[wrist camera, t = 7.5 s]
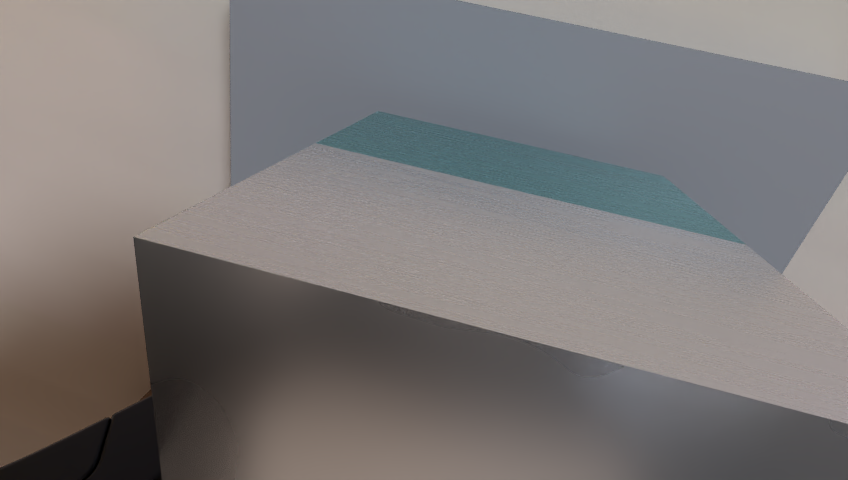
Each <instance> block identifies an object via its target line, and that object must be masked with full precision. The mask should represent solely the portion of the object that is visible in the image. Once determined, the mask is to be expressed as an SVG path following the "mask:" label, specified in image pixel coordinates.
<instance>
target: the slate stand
mask: <svg viewBox="0 0 848 480" xmlns="http://www.w3.org/2000/svg"><path fill="white" fill-rule="evenodd" d="M377 111H380V112H385V113H389V114H394V115H398V116H402V117H407V118H411V119H416V120H420V121H424V122H429V123H433V124H437V125H442V126H446V127H451V128H455V129H459V130H464V131H468V132H473V133H477V134H481V135H486V136H490V137H495V138H499V139H503V140H508V141H512V142H517V143H521V144H525V145H530V146H534V147H539V148H543V149H547V150H552V151H556V152H561V153H565V154H569V155H574V156H578V157H583V158H587V159H591V160H596V161H600V162H605V163H609V164H613V165H618V166H622V167H627V168H631V169H635V170H640V171H644V172H648V173H653V174H657V175H662V176H664V177H665V178H666V179H668V180H669V181H670V182H671V183H672V184H674V185H675V186H676V187H677V188H679V189H680V190H681V191H682V192H683V193H685V194H686V195H687V196H688V197H689V198H691V199H692V200H693V201H694V202H695V203H697V204H698V205H699V206H700V207H701V208H703V209H704V210H705V211H706V212H707V213H709V214H710V215H711V216H712V217H713V218H715V219H716V220H717V221H718V222H720V223H721V224H722V225H723V226H724V227H726V228H727V229H728V230H729V231H730V232H732V233H733V234H734V235H735V236H736V237H738V238H739V239H740V240H741V241H742V242H744V243H745V244H746V245H747V246H748V247H750V248H751V249H752V250H753V251H754V252H756V253H757V254H758V255H759V256H760V257H762V258H763V259H764V260H765V261H767V262H768V263H769V264H770V265H771V266H773V267H774V268H775V269H776V270H777V271H779V272H780V273H781V274H782V273H783V271H784V270H785V268H786V267H787V265H788V263H789V262H790V260H791V259H792V257H793V256H794V254H795V253H796V251H797V249H798V248H799V246H800V245H801V243H802V242H803V240H804V239H805V237H806V235H807V234H808V232H809V231H810V229H811V228H812V226H813V225H814V223H815V221H816V220H817V218H818V217H819V215H820V214H821V212H822V211H823V209H824V207H825V206H826V204H827V203H828V201H829V200H830V198H831V197H832V195H833V194H834V192H835V190H836V189H837V187H838V186H839V184H840V183H841V181H842V180H843V178H844V176H845V175H846V173H847V172H848V81H844V80H839V79H835V78H830V77H825V76H820V75H815V74H810V73H806V72H801V71H796V70H791V69H786V68H781V67H777V66H772V65H767V64H762V63H757V62H752V61H748V60H743V59H738V58H733V57H728V56H723V55H719V54H714V53H709V52H704V51H699V50H695V49H690V48H685V47H680V46H675V45H670V44H666V43H661V42H656V41H651V40H646V39H641V38H637V37H632V36H627V35H622V34H617V33H612V32H608V31H603V30H598V29H593V28H588V27H583V26H579V25H574V24H569V23H564V22H559V21H554V20H550V19H545V18H540V17H535V16H530V15H525V14H521V13H516V12H511V11H506V10H501V9H497V8H492V7H487V6H482V5H477V4H472V3H468V2H463V1H458V0H230V124H231V186H233V185H235V184H237V183H239V182H241V181H243V180H245V179H247V178H249V177H251V176H253V175H255V174H257V173H259V172H260V171H262V170H264V169H266V168H268V167H270V166H272V165H274V164H276V163H278V162H280V161H282V160H284V159H286V158H288V157H290V156H292V155H294V154H295V153H297V152H299V151H301V150H303V149H305V148H307V147H309V146H311V145H313V144H315V143H317V142H319V141H321V140H323V139H325V138H327V137H329V136H331V135H332V134H334V133H336V132H338V131H340V130H342V129H344V128H346V127H348V126H350V125H352V124H354V123H356V122H358V121H360V120H362V119H364V118H366V117H367V116H369V115H371V114H373V113H375V112H377Z"/></svg>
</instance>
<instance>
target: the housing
mask: <svg viewBox="0 0 848 480" xmlns="http://www.w3.org/2000/svg"><path fill="white" fill-rule="evenodd" d="M133 238H134V247H135V255H136V264H137V272H138V281H139V289H140V298H141V306H142V315H143V323H144V332H145V340H146V349H147V357H148V366H149V374H150V383H151V391H152V400H153V408H154V417H155V425H156V434H157V442H158V451H159V459H160V468H161V476H162V480H848V329H847V328H846V327H845V326H844V325H842V324H841V323H840V322H839V321H838V320H836V319H835V318H834V317H833V316H832V315H830V314H829V313H828V312H827V311H826V310H824V309H823V308H822V307H821V306H820V305H818V304H817V303H816V302H815V301H814V300H812V299H811V298H810V297H809V296H808V295H806V294H805V293H804V292H803V291H801V290H800V289H799V288H798V287H797V286H795V285H794V284H793V283H792V282H791V281H789V280H788V279H787V278H786V277H785V276H783V275H782V274H781V273H780V272H779V271H777V270H776V269H775V268H774V267H773V266H771V265H770V264H769V263H768V262H767V261H765V260H764V259H763V258H762V257H760V256H759V255H758V254H757V253H756V252H754V251H753V250H752V249H751V248H750V247H748V246H747V245H746V244H745V243H744V242H742V241H741V240H740V239H739V238H738V237H736V236H735V235H734V234H733V233H732V232H730V231H729V230H728V229H727V228H726V227H724V226H723V225H722V224H721V223H720V222H718V221H717V220H716V219H715V218H713V217H712V216H711V215H710V214H709V213H707V212H706V211H705V210H704V209H703V208H701V207H700V206H699V205H698V204H697V203H695V202H694V201H693V200H692V199H691V198H689V197H688V196H687V195H686V194H685V193H683V192H682V191H681V190H680V189H679V188H677V187H676V186H675V185H674V184H672V183H671V182H670V181H669V180H668V179H666V178H665V177H664V176H662V175H657V174H653V173H648V172H644V171H640V170H635V169H631V168H627V167H622V166H618V165H613V164H609V163H605V162H600V161H596V160H591V159H587V158H583V157H578V156H574V155H569V154H565V153H561V152H556V151H552V150H547V149H543V148H539V147H534V146H530V145H525V144H521V143H517V142H512V141H508V140H503V139H499V138H495V137H490V136H486V135H481V134H477V133H473V132H468V131H464V130H459V129H455V128H451V127H446V126H442V125H437V124H433V123H429V122H424V121H420V120H416V119H411V118H407V117H402V116H398V115H394V114H389V113H385V112H380V111H377V112H375V113H373V114H371V115H369V116H367V117H366V118H364V119H362V120H360V121H358V122H356V123H354V124H352V125H350V126H348V127H346V128H344V129H342V130H340V131H338V132H336V133H334V134H332V135H331V136H329V137H327V138H325V139H323V140H321V141H319V142H317V143H315V144H313V145H311V146H309V147H307V148H305V149H303V150H301V151H299V152H297V153H295V154H294V155H292V156H290V157H288V158H286V159H284V160H282V161H280V162H278V163H276V164H274V165H272V166H270V167H268V168H266V169H264V170H262V171H260V172H259V173H257V174H255V175H253V176H251V177H249V178H247V179H245V180H243V181H241V182H239V183H237V184H235V185H233V186H231V187H229V188H227V189H225V190H224V191H222V192H220V193H218V194H216V195H214V196H212V197H210V198H208V199H206V200H204V201H202V202H200V203H198V204H196V205H194V206H192V207H190V208H188V209H187V210H185V211H183V212H181V213H179V214H177V215H175V216H173V217H171V218H169V219H167V220H165V221H163V222H161V223H159V224H157V225H155V226H153V227H152V228H150V229H148V230H146V231H144V232H142V233H140V234H138V235H136V236H134V237H133Z"/></svg>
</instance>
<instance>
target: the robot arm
mask: <svg viewBox="0 0 848 480" xmlns="http://www.w3.org/2000/svg"><path fill="white" fill-rule="evenodd" d="M0 480H162V476H161V468H160V459H159V451H158V442H157V434H156V425H155V417H154V408H153V400H152V395H151V396H149V397H147V398H145V399H143V400H141V401H139V402H137V403H135V404H133V405H131V406H129V407H127V408H125V409H123V410H121V411H119V412H117V413H115V414H114V415H113V416H112V418H105V419H103V420H101V421H99V422H96V423H94V424H92V425H90V426H88V427H86V428H84V429H82V430H80V431H78V432H76V433H74V434H72V435H70V436H68V437H66V438H64V439H62V440H60V441H58V442H55V443H53V444H51V445H49V446H47V447H45V448H43V449H41V450H39V451H37V452H35V453H32V454H30V455H28V456H26V457H24V458H21V459H19V460H17V461H15V462H12V463H10V464H8V465H5V466H3V467H1V468H0Z"/></svg>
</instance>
